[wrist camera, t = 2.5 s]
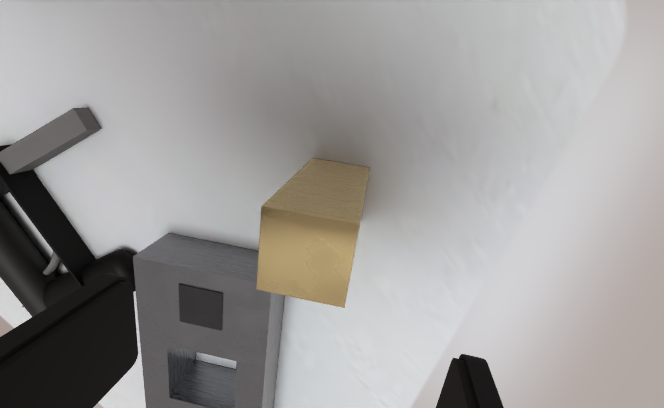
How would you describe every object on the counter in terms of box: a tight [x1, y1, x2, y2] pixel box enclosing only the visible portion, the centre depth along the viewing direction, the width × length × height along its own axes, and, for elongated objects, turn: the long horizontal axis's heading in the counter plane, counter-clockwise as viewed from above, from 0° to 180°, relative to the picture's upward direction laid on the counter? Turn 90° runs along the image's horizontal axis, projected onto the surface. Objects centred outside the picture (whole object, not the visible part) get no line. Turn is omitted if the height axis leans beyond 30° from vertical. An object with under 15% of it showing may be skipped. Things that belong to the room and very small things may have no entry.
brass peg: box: [256, 158, 370, 308], centre depth 18 cm, size 4×4×10 cm
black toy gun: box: [0, 108, 136, 317], centre depth 26 cm, size 3×20×16 cm
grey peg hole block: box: [133, 233, 285, 408], centre depth 27 cm, size 20×10×4 cm, turn 172°
